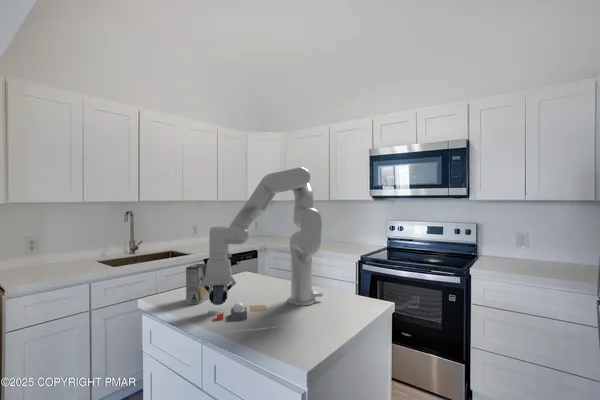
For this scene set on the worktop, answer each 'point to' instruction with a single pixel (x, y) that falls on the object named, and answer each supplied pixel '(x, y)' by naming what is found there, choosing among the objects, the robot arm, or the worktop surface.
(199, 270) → the coffee box
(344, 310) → the worktop surface
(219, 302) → the pawn
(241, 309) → the popper dome
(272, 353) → the worktop surface
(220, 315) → the game board
